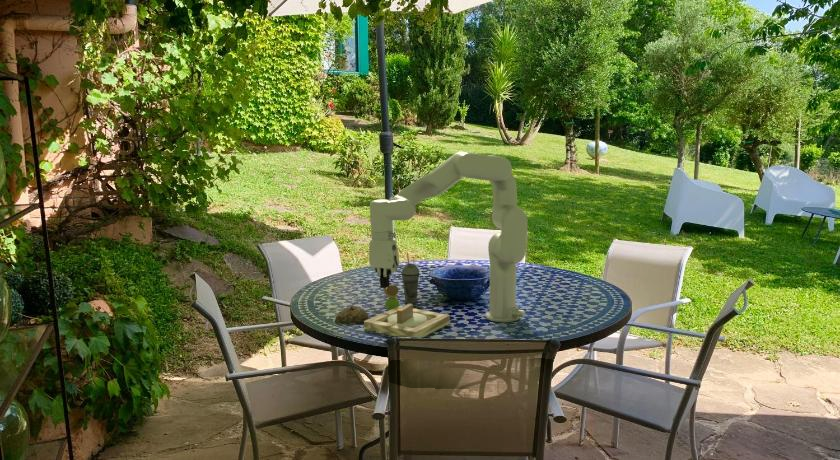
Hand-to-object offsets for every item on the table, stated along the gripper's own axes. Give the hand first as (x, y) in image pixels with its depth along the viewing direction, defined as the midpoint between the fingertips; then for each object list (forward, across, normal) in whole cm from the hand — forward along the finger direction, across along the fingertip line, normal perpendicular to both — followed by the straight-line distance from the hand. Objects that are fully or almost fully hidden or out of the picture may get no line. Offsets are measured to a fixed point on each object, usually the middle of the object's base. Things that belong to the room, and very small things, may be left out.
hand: (384, 287), depth 229 cm
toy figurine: (+15, +11, -17) cm, 25 cm away
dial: (+14, -5, -5) cm, 16 cm away
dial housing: (+15, -5, -5) cm, 17 cm away
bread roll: (+15, +18, -2) cm, 23 cm away
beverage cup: (+16, +12, -32) cm, 38 cm away
